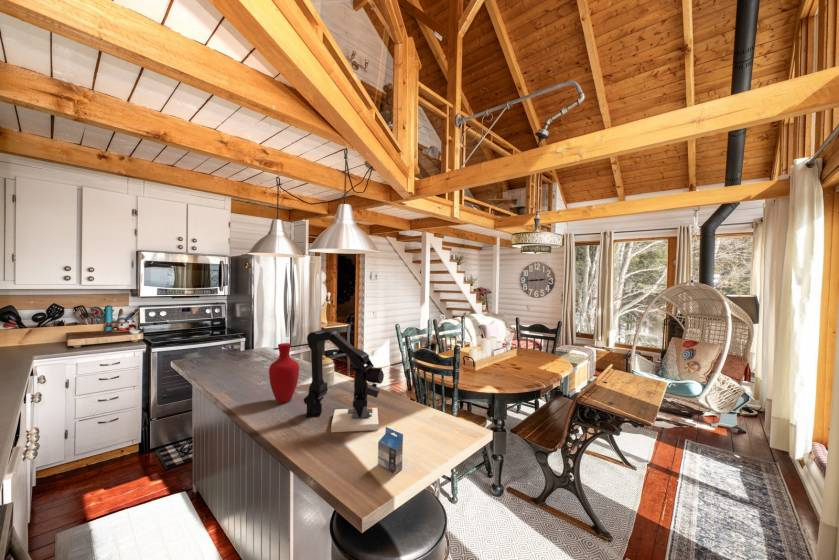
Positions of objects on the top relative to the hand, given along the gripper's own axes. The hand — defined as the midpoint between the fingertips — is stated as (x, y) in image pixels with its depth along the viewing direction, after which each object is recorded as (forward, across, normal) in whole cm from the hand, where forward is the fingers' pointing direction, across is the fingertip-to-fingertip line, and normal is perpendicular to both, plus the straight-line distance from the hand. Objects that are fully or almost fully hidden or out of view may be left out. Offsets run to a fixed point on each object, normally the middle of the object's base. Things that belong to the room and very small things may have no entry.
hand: (360, 414), depth 155 cm
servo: (+1, 0, 0) cm, 1 cm away
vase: (+4, +30, +40) cm, 50 cm away
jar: (+4, +55, +23) cm, 60 cm away
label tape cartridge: (+3, -38, -11) cm, 40 cm away
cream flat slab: (+3, 0, +2) cm, 4 cm away
